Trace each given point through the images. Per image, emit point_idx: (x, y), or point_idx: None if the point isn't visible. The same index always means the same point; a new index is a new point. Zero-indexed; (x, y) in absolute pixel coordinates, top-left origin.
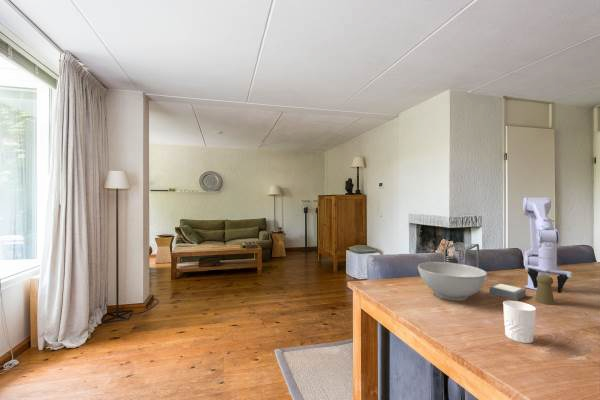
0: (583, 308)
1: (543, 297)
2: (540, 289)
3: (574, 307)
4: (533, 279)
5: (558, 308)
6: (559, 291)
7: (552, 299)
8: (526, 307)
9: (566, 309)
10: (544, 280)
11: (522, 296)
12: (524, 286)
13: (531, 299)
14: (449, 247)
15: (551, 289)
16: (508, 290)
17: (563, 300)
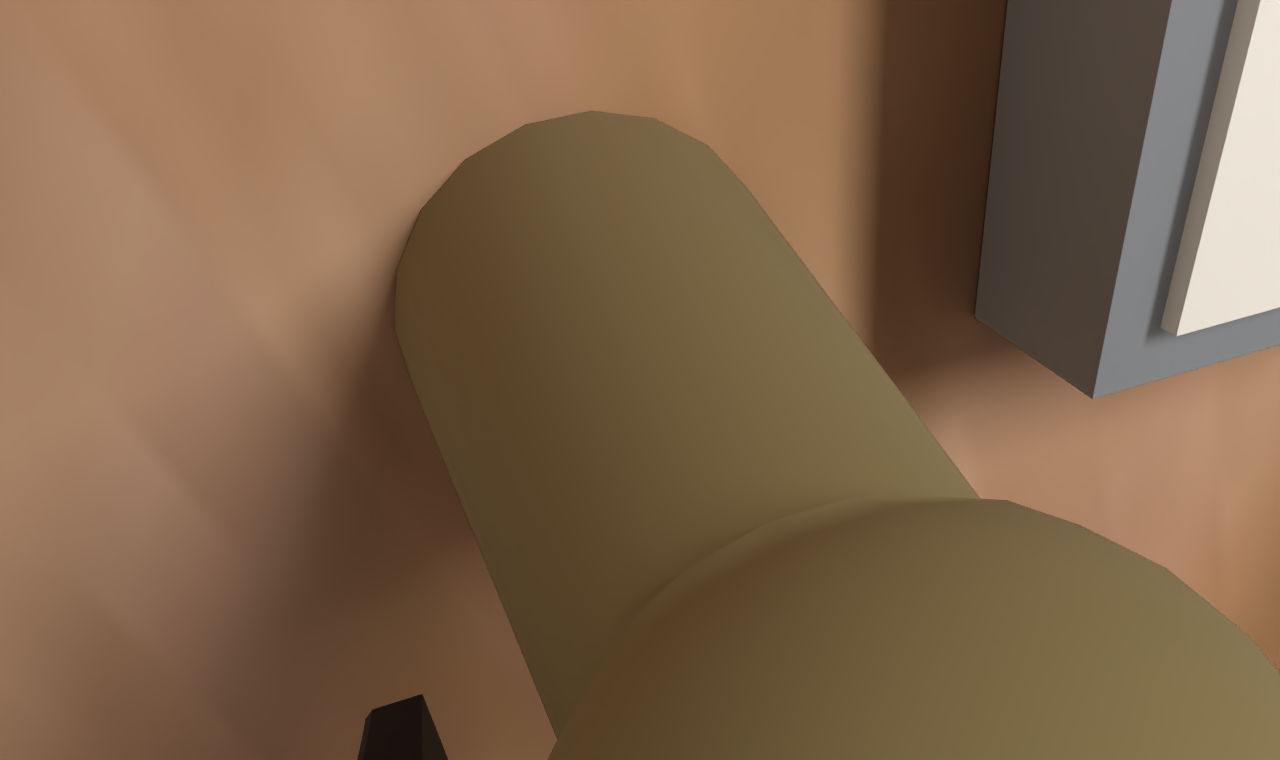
0: (9, 697)
1: (581, 200)
2: (775, 323)
3: (108, 586)
4: None
5: (129, 116)
6: (366, 751)
7: (420, 370)
8: None
9: (8, 253)
10: (872, 712)
11: (1014, 133)
12: None
13: (830, 204)
14: None
15: (506, 599)
16: None
17: (489, 746)
